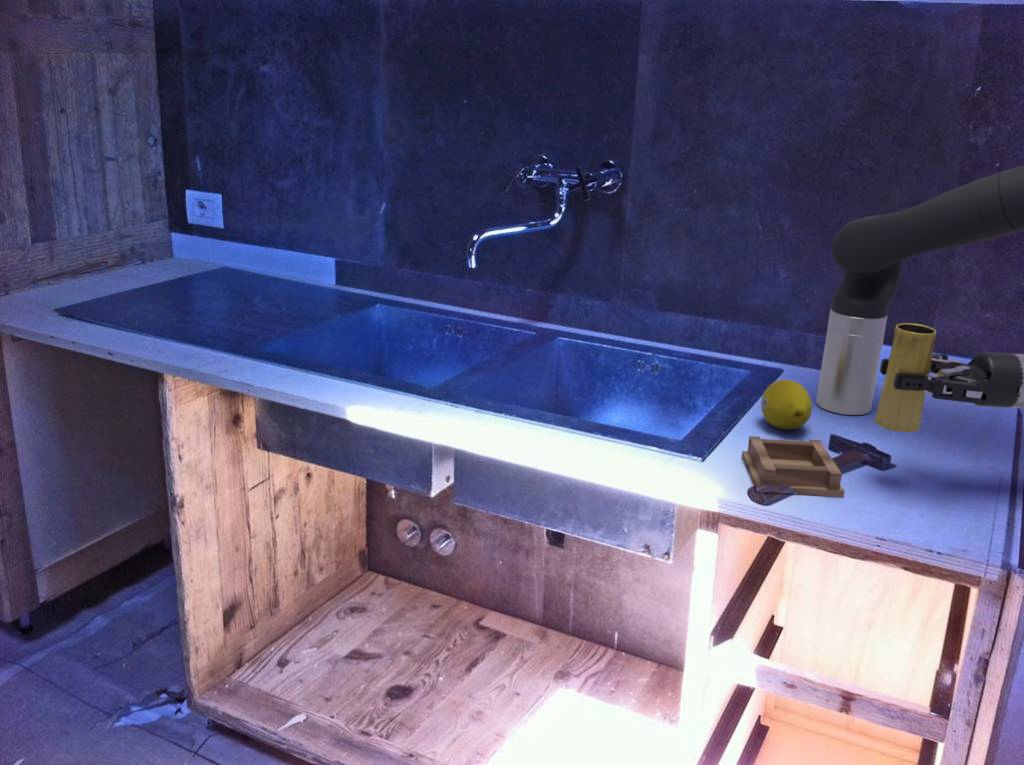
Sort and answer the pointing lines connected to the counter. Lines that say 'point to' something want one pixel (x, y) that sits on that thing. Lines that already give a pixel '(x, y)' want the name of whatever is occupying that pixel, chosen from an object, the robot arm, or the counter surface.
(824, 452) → the socket block
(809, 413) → the lemon
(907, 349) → the vase
